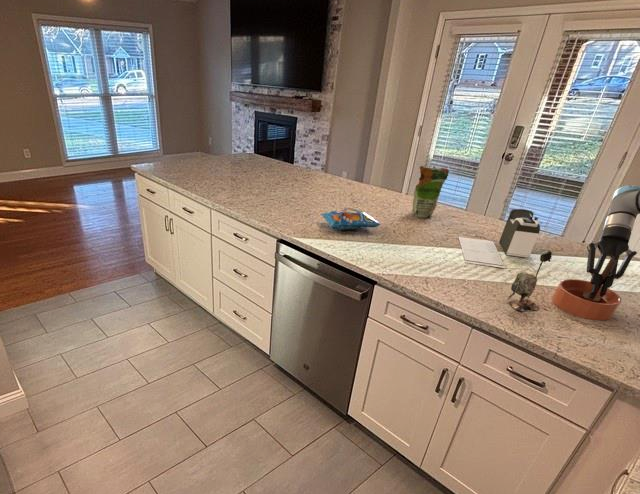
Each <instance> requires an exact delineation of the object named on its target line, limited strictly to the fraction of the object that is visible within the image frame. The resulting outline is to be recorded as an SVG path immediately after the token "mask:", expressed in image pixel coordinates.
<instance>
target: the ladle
mask: <svg viewBox="0 0 640 494" xmlns="http://www.w3.org/2000/svg"><path fill="white" fill-rule="evenodd" d="M610 259H611V258H610ZM610 259H609V260H608V262H607V264H606V266H605V268H604V269H603V270H602V273H601V274H602V275H601V279H600V282H599V285H598V289H597V292H596V293H595V294H593V295H591V294H590V293H591V292H590V293H583V295H582V296H581V298H582V299H585V300H588V301H592V302H596V303H598V302H599V301H600V297H599V296H597V293H598V291H599V290H600V288H601V287H602V285H603V283H604V282H605V280H606V278H607V277H608V275H609V274H610V272H611V270H612V269H613V267H614V265H615V264H616V262H617V261H616V260H613V259H611V260H610Z"/></svg>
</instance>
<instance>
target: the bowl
mask: <svg viewBox="0 0 640 494" xmlns="http://www.w3.org/2000/svg"><path fill="white" fill-rule="evenodd" d="M592 287H593V284H590V281H588V280H585V279H577V278H566V279H563V280H560V281H559V283H558V285H557V287H556V289H555V291H554V293H553V295H552V298H551V301H552V303H553V304H554V305H555V306H556V307H557V308H559V309H561V310H562V311H564V312H566V313H569V314H571V315H572V316H573V315H574V316H576V317H579V318H583V319H586V320H587V319H588V320H593V321H607V320H610V319H611V318H613V316H614V314H615V313H616V312H617V310H618V308H619V307H620V305H621V303H622V297H621V296H620V295H619V294H618V293H617V292H616V291H614V290H613V289H611V288H607V291H606V295H604V296H603V297H600V296H599V295H600V292H601V289H602V287H601V288H600V290H599V291H598V293H597V296H599V297H600V301H599V302H598V303H596V302H592V301H588V300H585V299H582V298H581V296H582V295H583V293H590V292H591V290H592Z"/></svg>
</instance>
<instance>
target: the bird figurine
mask: <svg viewBox="0 0 640 494" xmlns="http://www.w3.org/2000/svg"><path fill="white" fill-rule="evenodd" d="M552 254H553V253H552V251H551V250H547V251H544V252H542V253H541V254H540V257H539V260H540V264H539V266H538V269H537V271H536V274H530V273H528V272H518V273H517V275H516V277H515V279H514V281H513V282H512V284H511V287H510V290H511V291H512V293H511V294H510V295H509V296H508V297H507V298H506V300H505V302H508V301H509V302H508V303H509V305H510V307H512V308H513V309H514V310H515V311H518V312H523V311H525V312H531V311H540V306H539V305H538V304H535V301H534V300H531V299H530V297H531V296H532V294H533V293H534V291H535V288H536V286H537V283H538V279H537V277H538V275H539V272H540V269H541V267H542V265H543V263H546V262H551V259H552ZM516 294H517V295H519V296H520V297H519V299H513V300H510V299H511V298H512V297H514V295H516Z"/></svg>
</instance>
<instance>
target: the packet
mask: <svg viewBox="0 0 640 494" xmlns="http://www.w3.org/2000/svg"><path fill="white" fill-rule="evenodd" d="M321 216H322V217H323V218H324V220H325V221H326V223H327V224H328V226H329V227H330V228H331V229H332V231H333V230H334V231H349V230H356V231H357V230H360V229H362V228H377V227H379V226H380V225H381V223H380V222H379V221H378V220H376V219H374V217H372V216H371V215H370V214H369V213H367V212H365V211H362V210H361V209H357V208H352V207H351V208H350V207H346V208H344V209H341V210H334V211H329V212H324V213H321Z"/></svg>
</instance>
